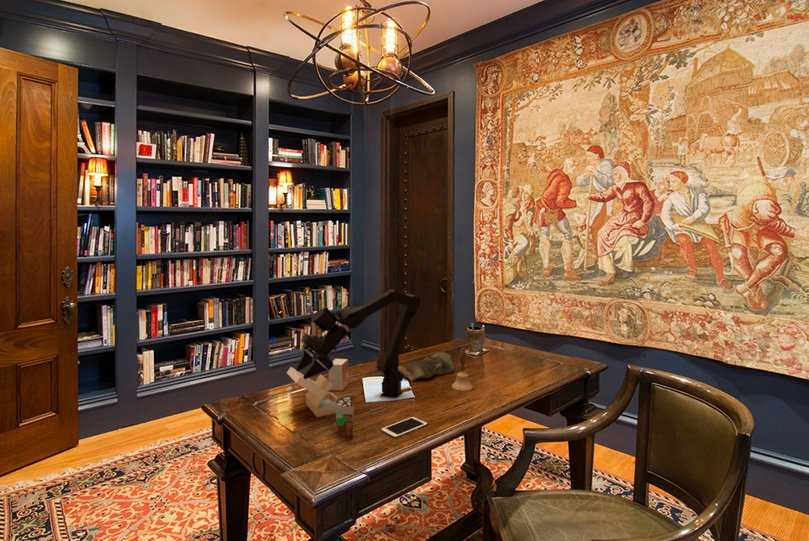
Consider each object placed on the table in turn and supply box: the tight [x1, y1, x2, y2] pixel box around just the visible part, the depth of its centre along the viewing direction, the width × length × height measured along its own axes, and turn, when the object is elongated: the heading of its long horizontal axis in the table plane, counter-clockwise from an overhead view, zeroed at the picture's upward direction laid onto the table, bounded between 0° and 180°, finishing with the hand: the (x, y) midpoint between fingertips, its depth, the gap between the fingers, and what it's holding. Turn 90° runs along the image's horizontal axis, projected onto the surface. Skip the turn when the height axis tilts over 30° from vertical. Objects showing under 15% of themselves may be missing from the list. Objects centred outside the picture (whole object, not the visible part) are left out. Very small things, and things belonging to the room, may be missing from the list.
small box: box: [328, 358, 349, 392], centre depth 183 cm, size 8×6×10 cm
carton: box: [305, 391, 338, 418], centre depth 163 cm, size 10×12×3 cm
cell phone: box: [379, 416, 429, 439], centre depth 147 cm, size 8×15×1 cm, turn 132°
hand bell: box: [451, 347, 474, 392], centre depth 182 cm, size 8×8×16 cm
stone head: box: [398, 351, 455, 383], centre depth 202 cm, size 19×8×28 cm
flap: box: [286, 366, 332, 408], centre depth 159 cm, size 9×12×12 cm
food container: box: [333, 393, 355, 439], centre depth 144 cm, size 12×6×10 cm, turn 5°
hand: (300, 374), depth 157 cm, fingers open, 9 cm apart
